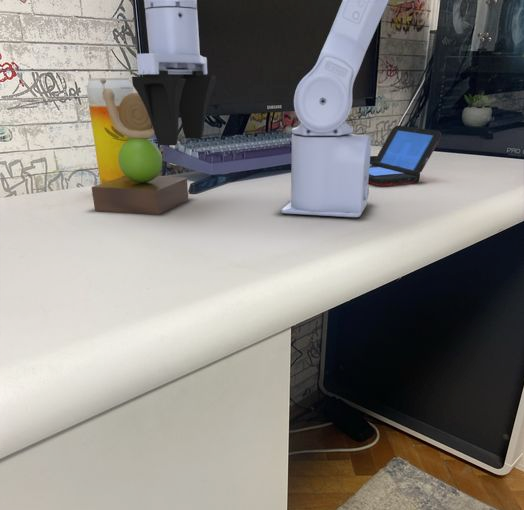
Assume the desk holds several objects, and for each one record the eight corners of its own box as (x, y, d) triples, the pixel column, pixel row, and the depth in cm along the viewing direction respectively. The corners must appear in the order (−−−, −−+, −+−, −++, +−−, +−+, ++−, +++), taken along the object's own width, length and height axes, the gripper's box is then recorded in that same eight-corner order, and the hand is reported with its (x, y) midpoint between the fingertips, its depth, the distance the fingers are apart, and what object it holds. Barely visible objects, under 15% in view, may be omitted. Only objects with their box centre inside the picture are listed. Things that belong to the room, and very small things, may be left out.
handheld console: (337, 175, 90) (339, 127, 87) (391, 170, 94) (395, 124, 90) (378, 187, 80) (383, 134, 76) (437, 182, 83) (444, 130, 80)
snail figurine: (118, 179, 71) (105, 78, 66) (167, 178, 71) (158, 77, 66) (109, 186, 66) (94, 78, 61) (160, 186, 66) (150, 77, 61)
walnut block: (188, 200, 73) (187, 177, 72) (159, 215, 65) (156, 190, 64) (130, 197, 75) (127, 175, 74) (94, 211, 68) (91, 186, 66)
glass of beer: (134, 197, 75) (119, 77, 68) (94, 196, 76) (76, 78, 69) (150, 189, 80) (139, 77, 73) (113, 188, 81) (98, 78, 75)
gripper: (167, 17, 66) (176, 135, 72) (104, 4, 54) (121, 147, 60) (220, 15, 64) (225, 136, 71) (167, 1, 52) (179, 149, 58)
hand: (181, 141), depth 65 cm, fingers open, 7 cm apart
